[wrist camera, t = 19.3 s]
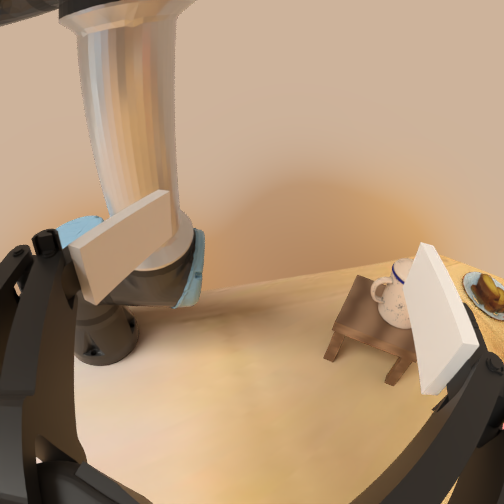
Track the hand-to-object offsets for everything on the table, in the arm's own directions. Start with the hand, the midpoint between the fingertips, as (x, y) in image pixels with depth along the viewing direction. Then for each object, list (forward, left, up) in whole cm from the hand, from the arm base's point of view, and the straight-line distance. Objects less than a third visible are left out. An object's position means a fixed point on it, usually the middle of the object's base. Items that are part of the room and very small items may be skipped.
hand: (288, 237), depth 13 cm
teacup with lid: (+11, +31, -24) cm, 41 cm away
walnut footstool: (+10, +31, -34) cm, 47 cm away
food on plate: (+50, +72, -35) cm, 94 cm away
